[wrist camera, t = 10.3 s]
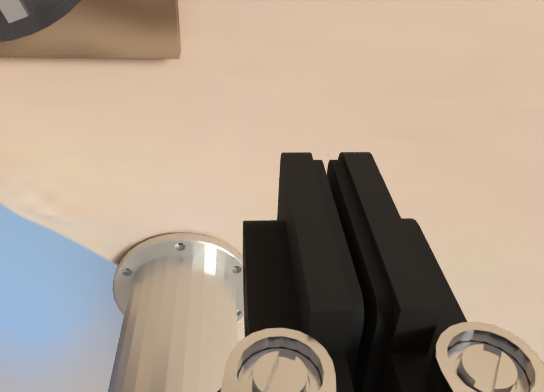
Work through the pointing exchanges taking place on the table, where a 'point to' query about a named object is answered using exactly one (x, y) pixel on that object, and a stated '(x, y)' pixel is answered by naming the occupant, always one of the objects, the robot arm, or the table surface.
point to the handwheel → (30, 16)
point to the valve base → (106, 32)
